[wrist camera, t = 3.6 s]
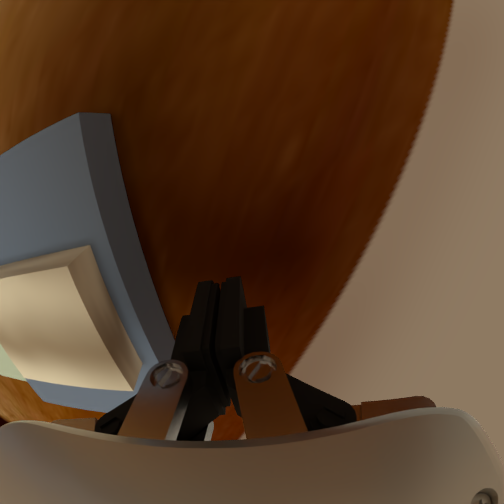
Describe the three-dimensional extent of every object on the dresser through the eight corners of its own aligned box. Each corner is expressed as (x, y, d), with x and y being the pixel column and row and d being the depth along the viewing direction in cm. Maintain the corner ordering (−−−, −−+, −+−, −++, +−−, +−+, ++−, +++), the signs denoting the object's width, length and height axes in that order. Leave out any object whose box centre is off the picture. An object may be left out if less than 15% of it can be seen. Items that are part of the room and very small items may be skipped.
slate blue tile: (-32, 189, 11) (-59, 201, 9) (110, 113, 11) (78, 112, 8) (55, 378, 19) (43, 401, 16) (193, 384, 18) (189, 417, 16)
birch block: (-12, 268, 11) (-31, 285, 9) (90, 244, 10) (67, 266, 9) (36, 358, 14) (24, 377, 12) (142, 363, 13) (133, 391, 12)
